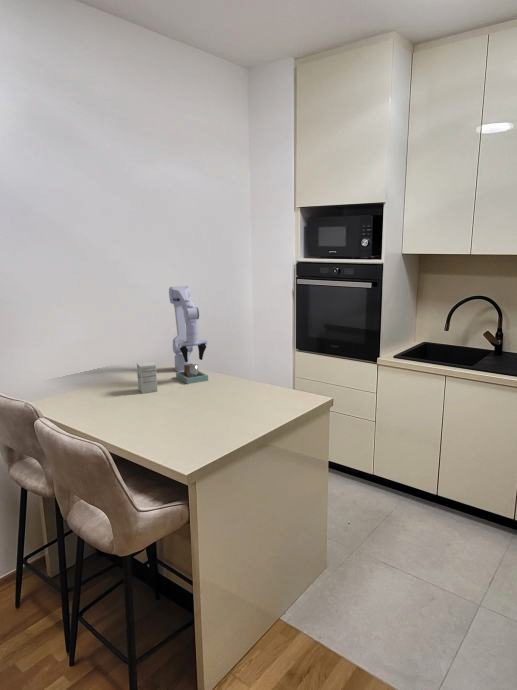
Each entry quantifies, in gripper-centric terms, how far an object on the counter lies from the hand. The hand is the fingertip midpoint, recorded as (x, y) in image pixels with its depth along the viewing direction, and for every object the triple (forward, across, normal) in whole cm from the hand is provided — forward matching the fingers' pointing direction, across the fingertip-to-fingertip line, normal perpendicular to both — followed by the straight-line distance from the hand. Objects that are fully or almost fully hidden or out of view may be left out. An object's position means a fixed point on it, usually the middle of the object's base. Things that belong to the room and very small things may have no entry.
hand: (193, 360), depth 229 cm
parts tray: (+10, 0, +3) cm, 10 cm away
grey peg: (+9, 0, 0) cm, 9 cm away
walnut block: (+9, 0, +6) cm, 11 cm away
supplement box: (+10, -24, -4) cm, 27 cm away
